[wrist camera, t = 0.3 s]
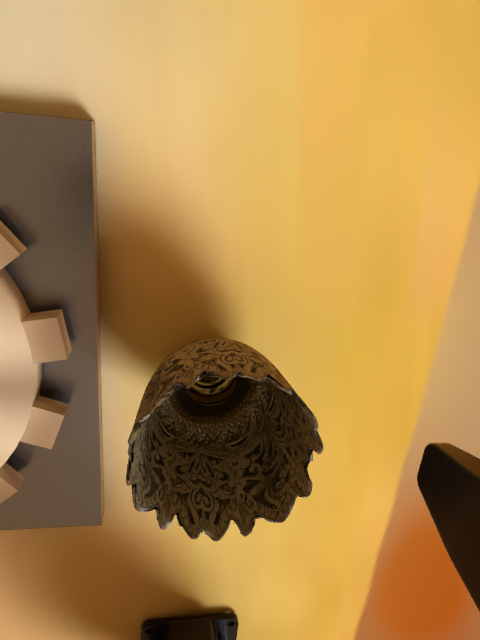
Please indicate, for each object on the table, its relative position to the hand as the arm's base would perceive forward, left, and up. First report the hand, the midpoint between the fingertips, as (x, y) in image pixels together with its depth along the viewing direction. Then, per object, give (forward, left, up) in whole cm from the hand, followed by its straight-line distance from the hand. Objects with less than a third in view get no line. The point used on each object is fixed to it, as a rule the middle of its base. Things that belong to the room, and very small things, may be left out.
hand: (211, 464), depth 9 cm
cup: (-5, -1, -15) cm, 16 cm away
